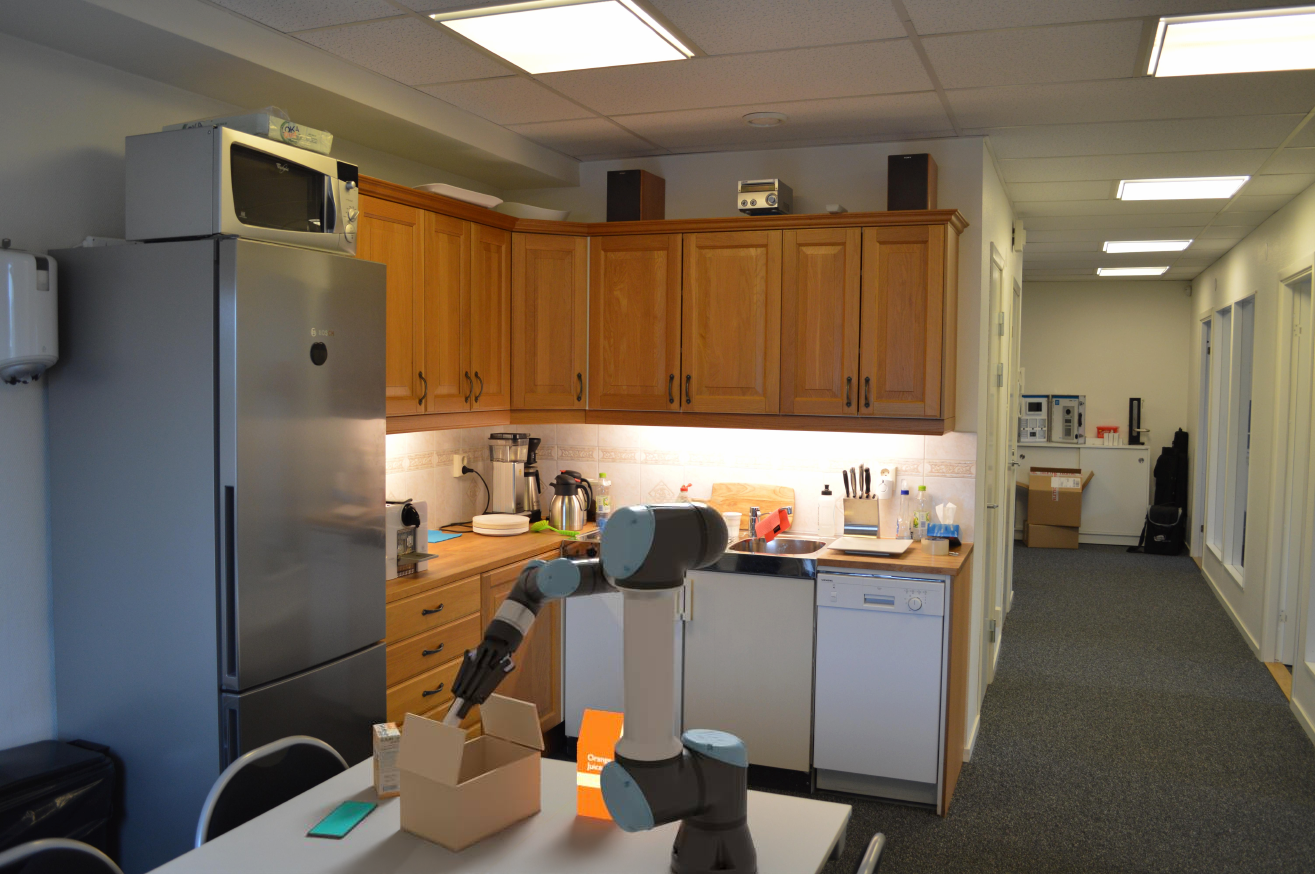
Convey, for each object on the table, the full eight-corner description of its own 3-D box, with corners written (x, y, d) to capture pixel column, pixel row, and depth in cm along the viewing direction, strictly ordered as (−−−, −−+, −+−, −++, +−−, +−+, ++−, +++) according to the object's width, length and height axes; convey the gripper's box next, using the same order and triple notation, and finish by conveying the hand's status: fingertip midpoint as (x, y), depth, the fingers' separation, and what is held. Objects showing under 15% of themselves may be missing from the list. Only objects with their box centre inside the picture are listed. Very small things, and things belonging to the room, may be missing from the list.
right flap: (542, 750, 186) (544, 748, 187) (533, 705, 184) (535, 704, 184) (485, 732, 196) (487, 731, 197) (475, 690, 194) (477, 689, 194)
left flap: (466, 730, 170) (464, 730, 169) (456, 787, 168) (453, 787, 168) (408, 712, 180) (405, 712, 179) (397, 766, 178) (395, 766, 177)
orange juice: (617, 820, 182) (618, 719, 181) (576, 814, 185) (576, 714, 184) (631, 804, 189) (632, 707, 189) (591, 798, 192) (591, 703, 192)
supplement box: (372, 784, 199) (372, 724, 199) (395, 781, 201) (395, 721, 201) (378, 799, 192) (377, 736, 191) (402, 795, 194) (401, 733, 193)
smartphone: (306, 833, 175) (345, 800, 190) (306, 837, 175) (345, 804, 190) (342, 836, 174) (379, 803, 189) (342, 840, 174) (379, 807, 189)
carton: (540, 810, 187) (540, 751, 186) (456, 852, 169) (456, 787, 169) (485, 790, 196) (485, 734, 196) (400, 828, 178) (399, 766, 178)
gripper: (541, 643, 188) (479, 748, 175) (495, 633, 196) (433, 734, 183) (522, 621, 184) (458, 728, 171) (476, 613, 191) (412, 714, 178)
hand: (445, 731), depth 177 cm, fingers closed
